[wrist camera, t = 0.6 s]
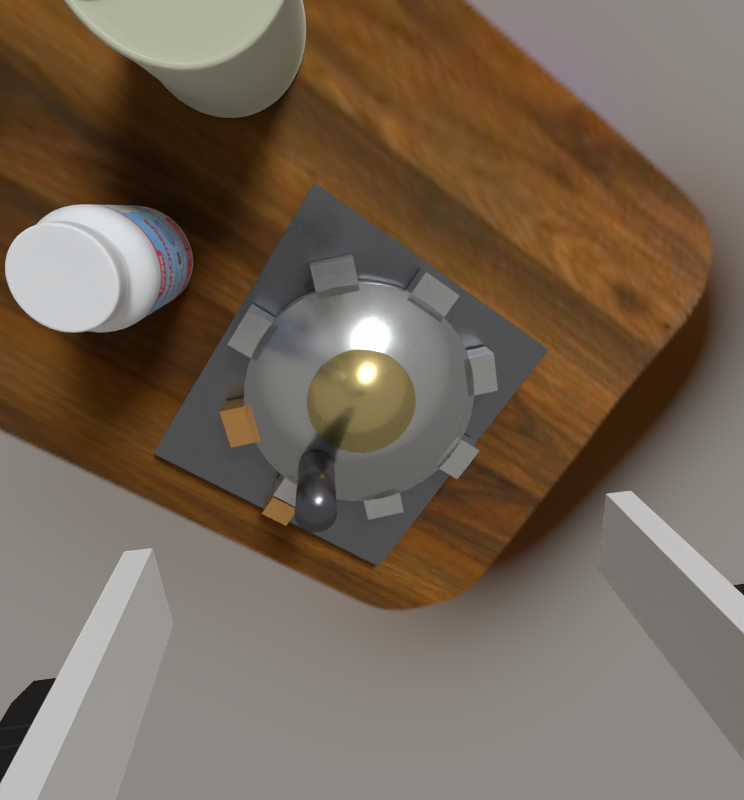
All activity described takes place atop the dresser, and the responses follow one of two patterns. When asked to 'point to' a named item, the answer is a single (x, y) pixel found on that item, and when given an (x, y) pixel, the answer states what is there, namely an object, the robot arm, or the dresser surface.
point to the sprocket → (357, 391)
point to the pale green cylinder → (206, 47)
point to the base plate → (274, 290)
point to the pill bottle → (98, 266)
